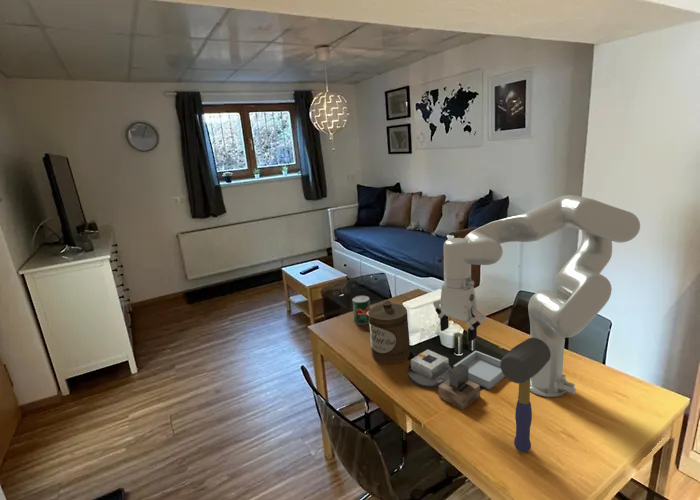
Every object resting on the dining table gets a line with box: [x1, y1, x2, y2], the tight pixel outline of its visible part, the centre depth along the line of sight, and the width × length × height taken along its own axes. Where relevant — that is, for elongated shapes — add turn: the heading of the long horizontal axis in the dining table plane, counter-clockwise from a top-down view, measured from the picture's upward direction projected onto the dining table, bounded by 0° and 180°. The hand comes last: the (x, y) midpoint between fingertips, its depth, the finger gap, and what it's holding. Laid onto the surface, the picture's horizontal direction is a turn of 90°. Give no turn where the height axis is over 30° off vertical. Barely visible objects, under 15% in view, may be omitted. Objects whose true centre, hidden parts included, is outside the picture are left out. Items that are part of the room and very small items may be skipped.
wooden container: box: [368, 300, 411, 365], centre depth 147 cm, size 15×15×22 cm
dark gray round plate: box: [407, 363, 453, 389], centre depth 134 cm, size 15×15×2 cm
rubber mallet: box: [500, 337, 551, 454], centre depth 96 cm, size 12×8×30 cm, turn 130°
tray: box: [452, 350, 506, 391], centre depth 133 cm, size 14×14×3 cm
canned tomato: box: [352, 295, 371, 326], centre depth 179 cm, size 8×8×11 cm
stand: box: [437, 379, 481, 411], centre depth 122 cm, size 9×9×4 cm
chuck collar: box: [410, 349, 450, 380], centre depth 133 cm, size 9×9×4 cm
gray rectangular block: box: [449, 363, 468, 392], centre depth 121 cm, size 6×3×10 cm, turn 130°
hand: (457, 334), depth 116 cm, fingers open, 9 cm apart
